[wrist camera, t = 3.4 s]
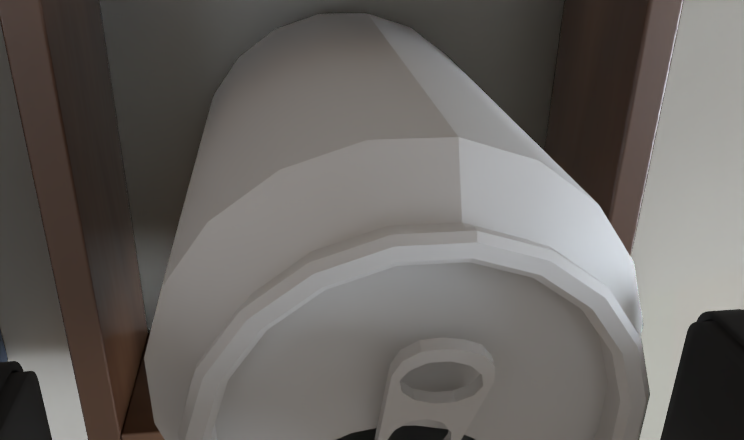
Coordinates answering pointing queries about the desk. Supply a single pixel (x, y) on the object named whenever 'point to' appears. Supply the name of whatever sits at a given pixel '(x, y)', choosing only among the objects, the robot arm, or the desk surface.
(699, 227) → the desk surface
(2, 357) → the bin
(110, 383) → the crate
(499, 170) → the can
